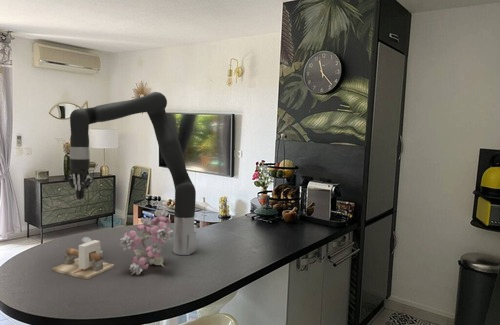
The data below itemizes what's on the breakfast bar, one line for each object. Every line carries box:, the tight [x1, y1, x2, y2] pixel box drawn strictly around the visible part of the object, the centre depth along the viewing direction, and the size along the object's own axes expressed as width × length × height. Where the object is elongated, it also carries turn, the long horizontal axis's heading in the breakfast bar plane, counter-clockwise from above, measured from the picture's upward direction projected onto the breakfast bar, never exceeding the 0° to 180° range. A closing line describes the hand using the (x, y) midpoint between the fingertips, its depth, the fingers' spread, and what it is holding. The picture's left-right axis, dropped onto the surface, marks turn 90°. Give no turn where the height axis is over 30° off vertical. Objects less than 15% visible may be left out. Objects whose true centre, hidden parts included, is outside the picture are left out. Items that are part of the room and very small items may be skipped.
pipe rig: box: [51, 247, 115, 280], centre depth 145 cm, size 18×14×7 cm
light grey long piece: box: [80, 236, 104, 257], centre depth 165 cm, size 5×7×25 cm
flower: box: [118, 208, 174, 275], centre depth 148 cm, size 20×22×25 cm
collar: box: [78, 239, 101, 269], centre depth 143 cm, size 3×8×9 cm, turn 159°
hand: (79, 198), depth 152 cm, fingers closed
